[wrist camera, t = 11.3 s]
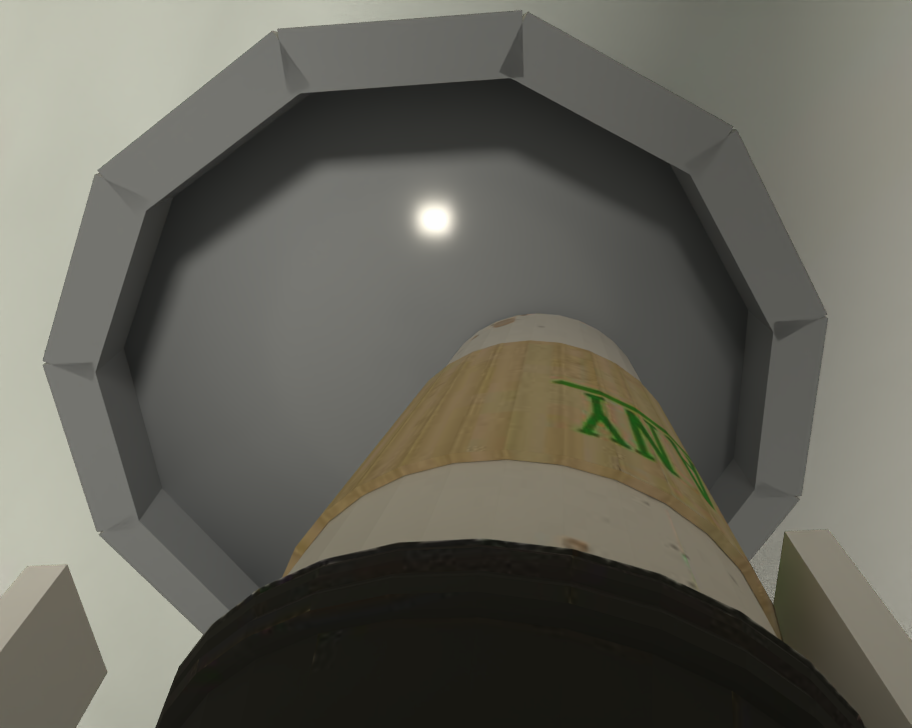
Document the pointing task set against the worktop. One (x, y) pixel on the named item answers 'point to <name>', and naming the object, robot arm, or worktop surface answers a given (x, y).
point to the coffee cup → (513, 572)
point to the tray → (408, 281)
